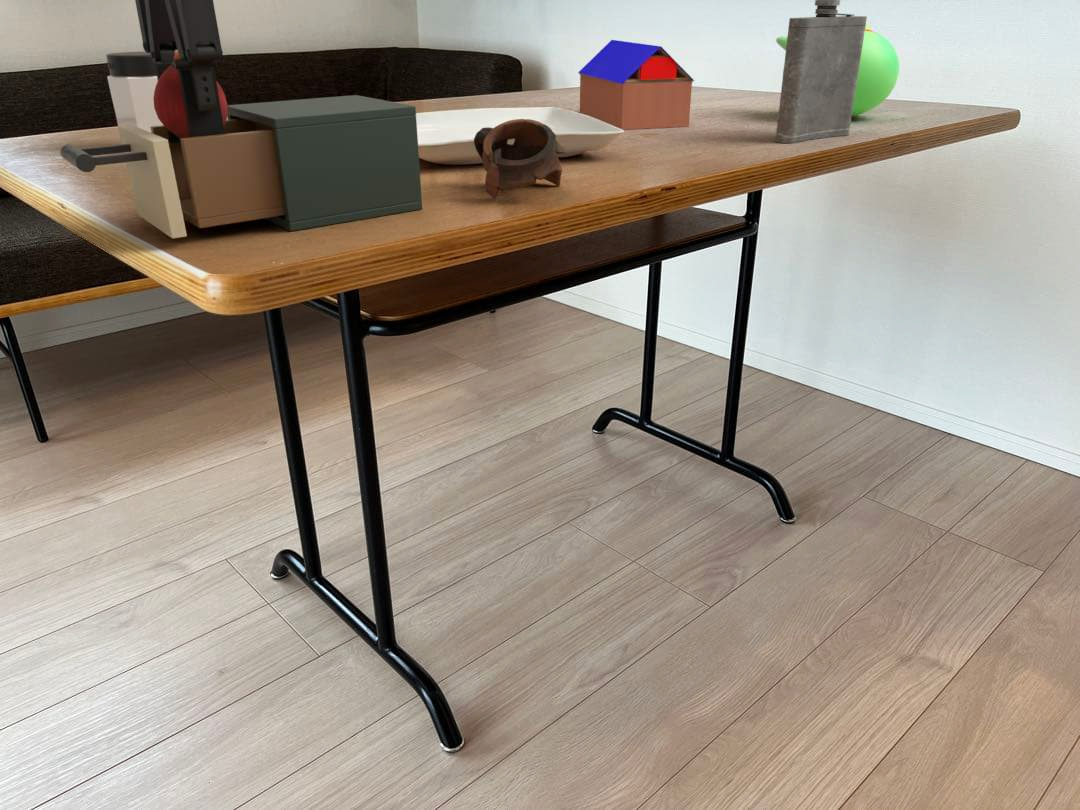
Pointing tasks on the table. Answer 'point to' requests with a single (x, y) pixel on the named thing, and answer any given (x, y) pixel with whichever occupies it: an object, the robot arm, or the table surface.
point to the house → (635, 87)
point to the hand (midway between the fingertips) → (197, 145)
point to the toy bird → (871, 71)
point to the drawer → (195, 174)
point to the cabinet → (341, 158)
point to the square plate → (455, 130)
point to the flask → (820, 74)
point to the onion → (176, 102)
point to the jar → (133, 88)
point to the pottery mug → (518, 155)
